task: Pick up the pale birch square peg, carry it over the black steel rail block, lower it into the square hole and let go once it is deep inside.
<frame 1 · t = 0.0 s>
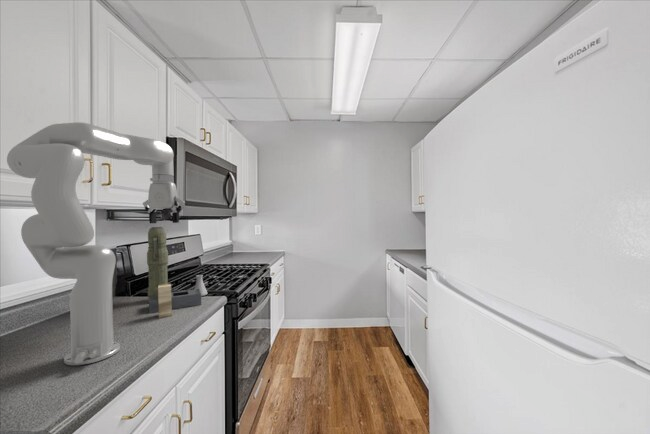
hand: (164, 222, 115), 37 cm above the countertop, tool pointing down, fingers open, 9 cm apart
peg: (165, 315, 116), on the countertop
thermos: (158, 300, 139), on the countertop
rail: (175, 305, 129), on the countertop
flask: (199, 295, 145), on the countertop
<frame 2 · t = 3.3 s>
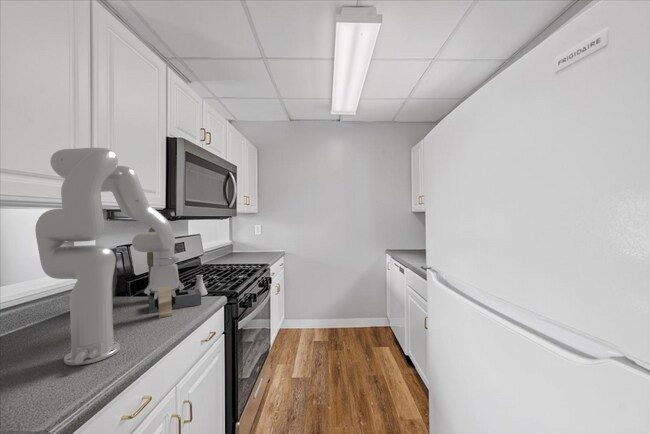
hand: (165, 306, 116), 3 cm above the countertop, tool pointing down, fingers closed on peg, 4 cm apart
peg: (165, 315, 116), on the countertop, touching gripper
everything else where it was.
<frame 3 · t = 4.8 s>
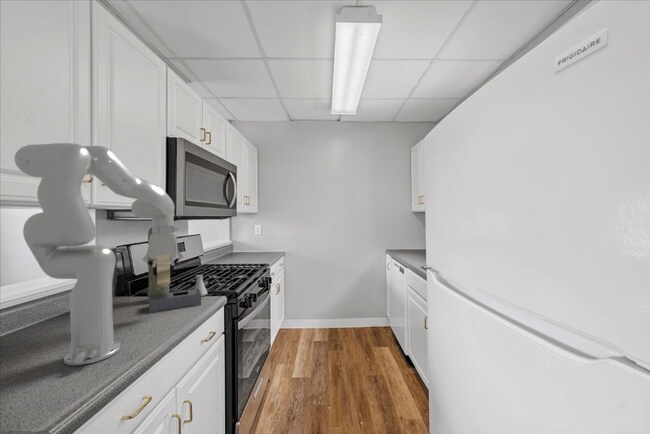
hand: (163, 275, 116), 16 cm above the countertop, tool pointing down, fingers closed on peg, 4 cm apart
peg: (163, 284, 116), point 13 cm above the countertop, touching gripper
everything else where it was.
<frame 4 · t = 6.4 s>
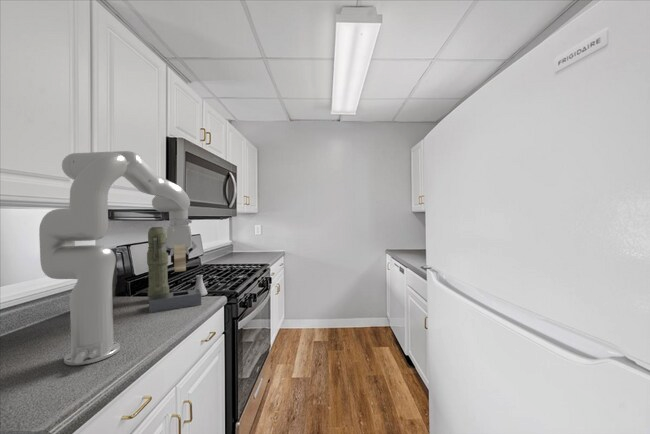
hand: (179, 263, 130), 19 cm above the countertop, tool pointing down, fingers closed on peg, 4 cm apart
peg: (180, 270, 130), point 15 cm above the countertop, touching gripper
everything else where it was.
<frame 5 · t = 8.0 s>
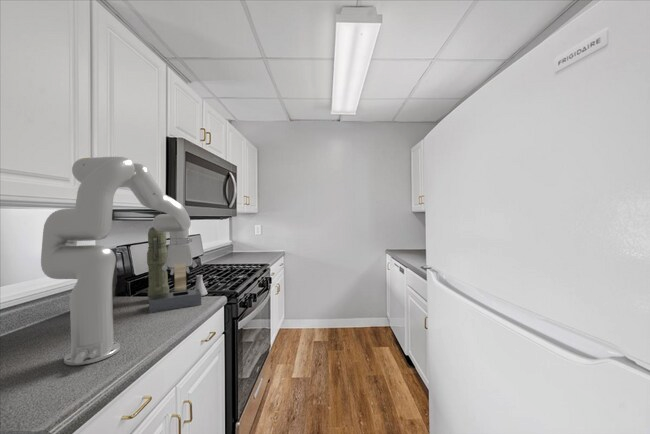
hand: (180, 282, 130), 10 cm above the countertop, tool pointing down, fingers closed on peg, 4 cm apart
peg: (180, 289, 130), point 7 cm above the countertop, touching gripper
everything else where it was.
when the fingers open (6 cm above the countertop, at t = 9.5 s): peg drops 3 cm, resting in rail.
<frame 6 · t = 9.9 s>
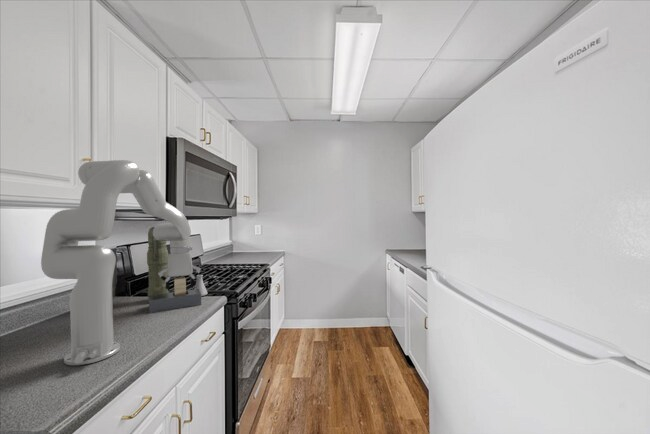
hand: (180, 288, 130), 7 cm above the countertop, tool pointing down, fingers open, 9 cm apart
peg: (180, 304, 130), resting in rail
everything else where it was.
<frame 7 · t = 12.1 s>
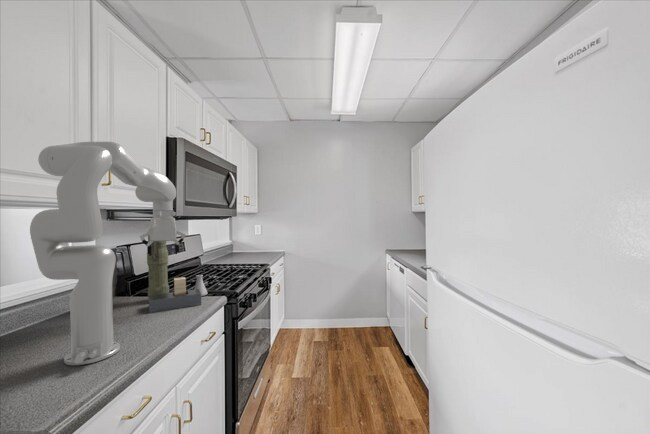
hand: (163, 254, 123), 24 cm above the countertop, tool pointing down, fingers open, 9 cm apart
nothing on the countertop moved.
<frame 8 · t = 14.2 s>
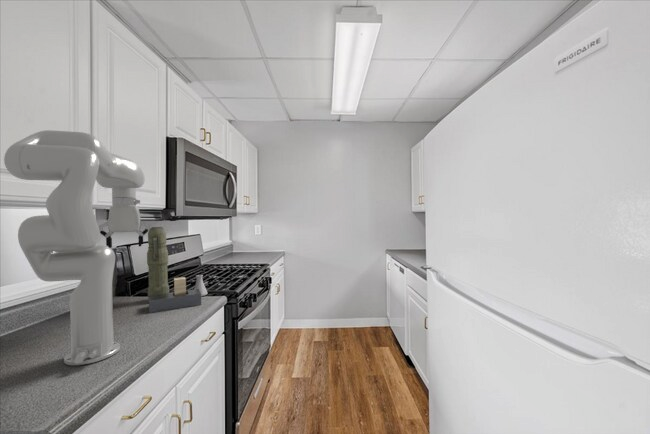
hand: (125, 247, 112), 28 cm above the countertop, tool pointing down, fingers open, 9 cm apart
nothing on the countertop moved.
at the end: peg 0.2 cm from the target spot on the rail, point 0.0 cm above the rail's base; peg tilted 0°; the gripper is holding nothing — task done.
